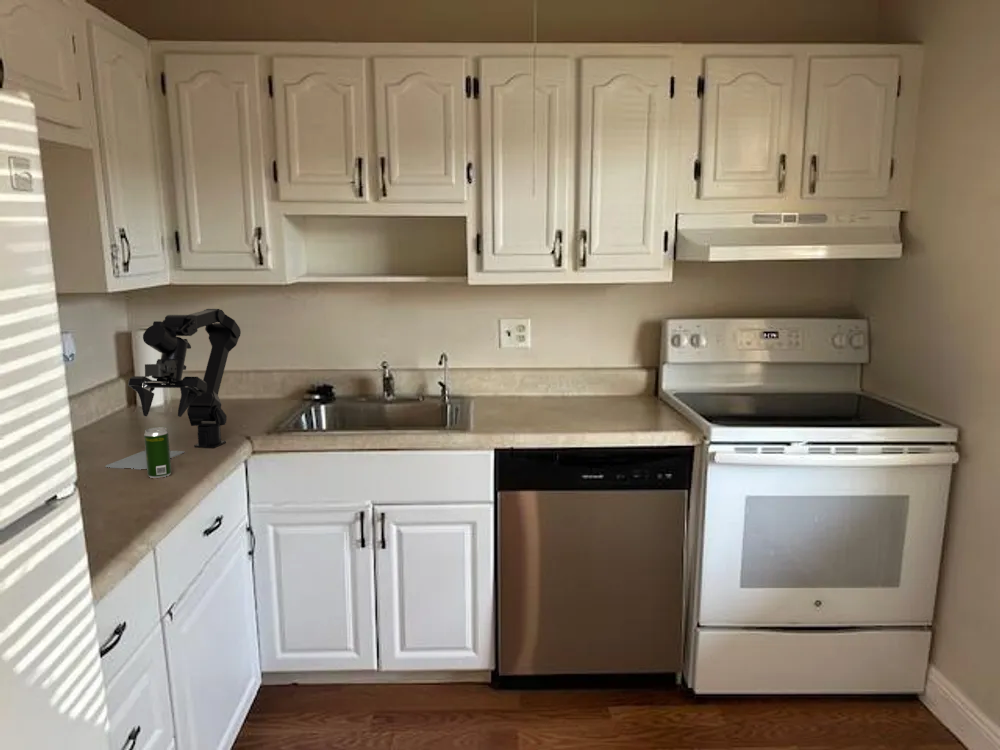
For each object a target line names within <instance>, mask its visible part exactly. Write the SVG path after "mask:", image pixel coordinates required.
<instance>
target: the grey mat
mask: <svg viewBox="0 0 1000 750" xmlns="http://www.w3.org/2000/svg"><path fill="white" fill-rule="evenodd" d="M184 452H185V451H184V450H183V451H182V450H170V458H172V457H175V456H177V455H179V456H181V455H180V454H182V453H184ZM185 453H186V452H185ZM185 453H184V454H185ZM182 455H183V454H182ZM177 457H178V456H177ZM175 458H176V457H175ZM172 459H173V458H172ZM107 467H108V468H109V467H110V469H124V468H131V469H130V470H141V469H147V462H146V451H145V449H144V450H142V451H139V452H137V453H134V454H132V455H129V456H126V457H125V458H121V459H119V460H116V461H114V462H112V463H111V462H110V463H108V464H106V465H105V468H107ZM133 468H134V469H133Z"/></svg>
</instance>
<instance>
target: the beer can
mask: <svg viewBox="0 0 1000 750" xmlns="http://www.w3.org/2000/svg"><path fill="white" fill-rule="evenodd" d="M143 438H144V448H145V449H144V450H145V451H146V462H147V470H146V471H147V476H148V477H150V479H151V478H160V477H165V478H167V477H166V476H168V477H170V476H171V474H172V463H171V459H170V451H171V450H170V442H169V440H170V439H169V432H168V429H167V428H166V427H162V426H161V427H159V426H158V427H157V426H156V427H150V428H147V429H145V430H144V434H143ZM169 475H170V476H169Z"/></svg>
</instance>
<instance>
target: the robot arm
mask: <svg viewBox="0 0 1000 750" xmlns="http://www.w3.org/2000/svg"><path fill="white" fill-rule="evenodd" d="M203 327H204V330H205V331H206V333H207V334H208V340H209V343H210V346H211V350H210V354H209V358H208V361H207V365H206V369H205V371H204V372H205V373H204V375H203V379H202V378H201V377H199V376H184V377H183V372H184V371H186V370H187V365H185V360H186V357H187V356H186V355H187V352H188V351H187V350H190V349H191V348H192V346H191V343H190V342H189V341H188V339H187V338H182V337H192V336H193V335H195V334H196V333H198V329H200V328H203ZM241 331H242V330H241V328H240V325H238V323H237V322H236V321H235V319H234V318H232V317H230V316H229V315H227V314H225V312H224V310H223V309H220V308H206V309H203V310H200V311H197V312H194V313H190V314H167V315H165V317H164V319H163V320H162V321H161V320H158V321H156V320H155V321H153V323H152V325H150V326H148V328H146V329H145V331H144V332H143V333H142V340H143V342H144V344H146V345H147V346H149V347H150V348H152V349H154V350H155V351H157V352H159V353H161V356H160V357H161V358H158V359H157V360H156V363H152V364H151V363H147V364H144V375H143V376H142V375H139V376H137V375H134V376H133V375H132V376H131V377H130V378H129V379H128V384H127V387H129V388H131V389H132V390H133V391H135V392H136V393H137V394H138V397H139V400H140V403H141V404H140V405H141V409H142V414H143V416H144V417H148V416H149V412H150V411H151V410H150V409H151V406H152V403H153V400H154V397H155V392H154V391H155V389H157V388H158V389H180V399H179V404H178V410H177V417H179V418H181V417H182V416H183V415H184V414H185V412H186V413H187V417H188V420H189V423H190V426H191V427H194V426H196V427H197V443H196V444H194V448H208V449H210V448H212V449H215V448H216V447H219V446H221V445H223V444H225V443H227V441H226V440H222V433H221V426H225V425H226V424H227V419H228V417H227V414H226V413H225V412H224V410H223V409H222V402H221V399H220V397H219V392H220V388H221V385H222V384H221V383H222V380H223V376H224V372H225V368H226V364H227V360H228V356H229V353H230V351H232V349H234V348H235V347H236V346H237V344H238V341H239V339H240V337H241ZM181 336H182V337H181ZM149 377H151V378H152V379H153V380H152V379H151V378H149Z"/></svg>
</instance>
